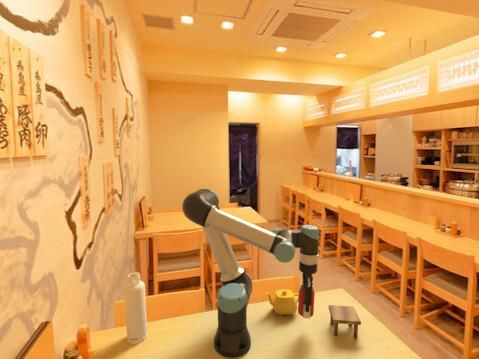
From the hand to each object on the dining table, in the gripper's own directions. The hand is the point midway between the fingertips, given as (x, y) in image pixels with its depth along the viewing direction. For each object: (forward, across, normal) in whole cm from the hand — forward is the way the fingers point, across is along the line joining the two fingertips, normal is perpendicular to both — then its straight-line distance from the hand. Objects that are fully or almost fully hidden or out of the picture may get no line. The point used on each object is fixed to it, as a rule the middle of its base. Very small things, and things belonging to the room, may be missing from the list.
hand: (305, 312), depth 120 cm
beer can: (+1, 0, 0) cm, 1 cm away
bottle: (+11, -13, +71) cm, 73 cm away
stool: (+8, +3, -17) cm, 19 cm away
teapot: (+9, +14, +9) cm, 19 cm away
